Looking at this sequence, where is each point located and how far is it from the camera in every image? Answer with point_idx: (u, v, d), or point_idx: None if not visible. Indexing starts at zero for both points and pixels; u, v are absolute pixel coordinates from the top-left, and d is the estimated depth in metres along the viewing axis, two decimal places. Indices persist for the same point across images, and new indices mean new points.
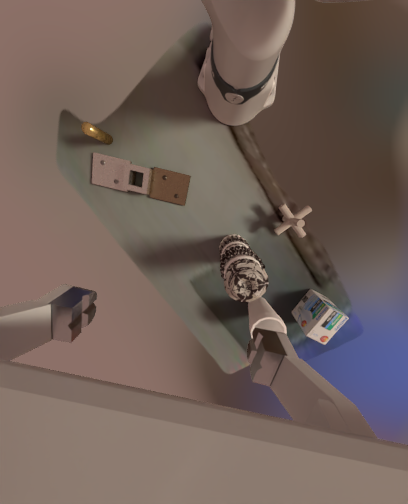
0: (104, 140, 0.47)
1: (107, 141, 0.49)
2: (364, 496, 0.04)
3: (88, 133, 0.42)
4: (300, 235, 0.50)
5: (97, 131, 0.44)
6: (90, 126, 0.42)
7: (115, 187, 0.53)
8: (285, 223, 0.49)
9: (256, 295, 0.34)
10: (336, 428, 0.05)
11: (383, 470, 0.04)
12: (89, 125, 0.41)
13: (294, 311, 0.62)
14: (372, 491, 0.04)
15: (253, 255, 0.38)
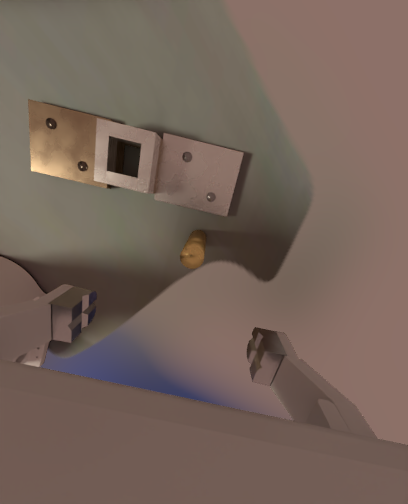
0: (191, 235, 0.24)
1: (191, 234, 0.26)
2: (364, 496, 0.04)
3: (190, 248, 0.19)
4: None
5: None
6: (183, 260, 0.19)
7: (190, 143, 0.23)
8: None
9: None
10: (336, 428, 0.05)
11: (383, 470, 0.04)
12: (185, 262, 0.19)
13: None
14: (372, 491, 0.04)
15: None
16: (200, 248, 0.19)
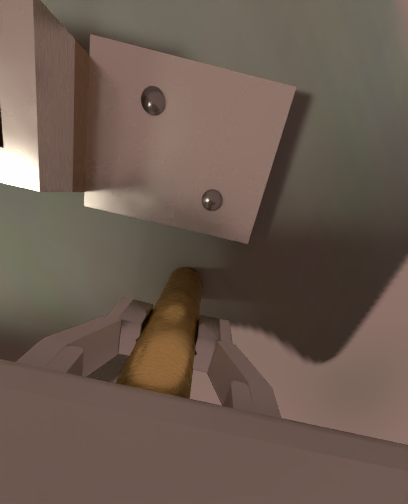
0: (165, 292, 0.10)
1: (168, 283, 0.11)
2: (364, 496, 0.04)
3: None
4: None
5: None
6: None
7: (159, 63, 0.09)
8: None
9: None
10: (239, 407, 0.05)
11: (383, 470, 0.04)
12: None
13: None
14: (372, 491, 0.04)
15: None
16: None
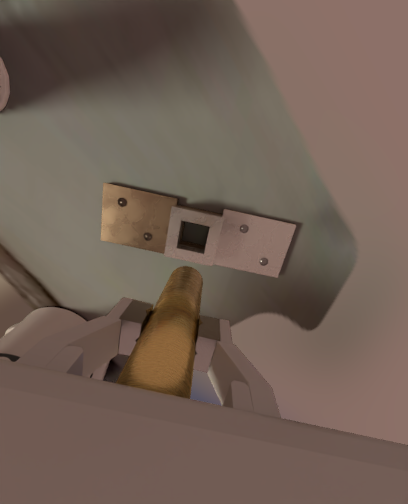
0: (166, 291, 0.10)
1: (169, 282, 0.12)
2: (364, 496, 0.04)
3: None
4: None
5: None
6: None
7: (247, 217, 0.26)
8: None
9: None
10: (239, 407, 0.05)
11: (383, 470, 0.04)
12: None
13: None
14: (372, 491, 0.04)
15: None
16: (174, 393, 0.05)
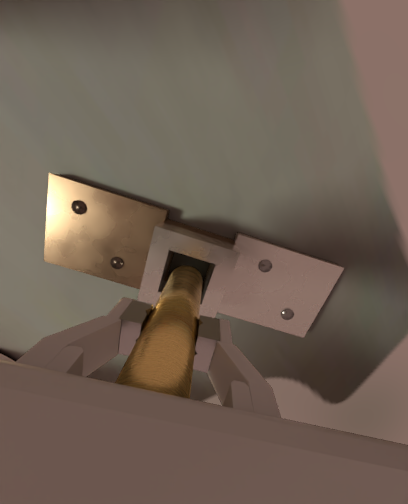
0: (166, 289, 0.10)
1: (169, 280, 0.12)
2: (364, 496, 0.04)
3: None
4: None
5: None
6: None
7: (272, 250, 0.17)
8: None
9: None
10: (239, 407, 0.05)
11: (383, 470, 0.04)
12: None
13: None
14: (372, 491, 0.04)
15: None
16: (174, 387, 0.05)
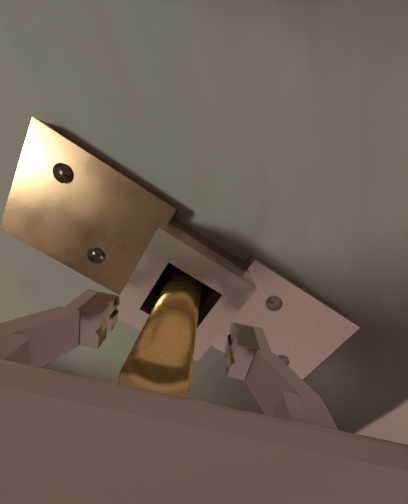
0: (170, 280, 0.12)
1: (173, 273, 0.13)
2: (364, 496, 0.04)
3: (146, 359, 0.06)
4: None
5: None
6: None
7: (288, 288, 0.14)
8: None
9: None
10: (296, 420, 0.05)
11: (383, 470, 0.04)
12: None
13: None
14: (372, 491, 0.04)
15: None
16: (179, 354, 0.07)
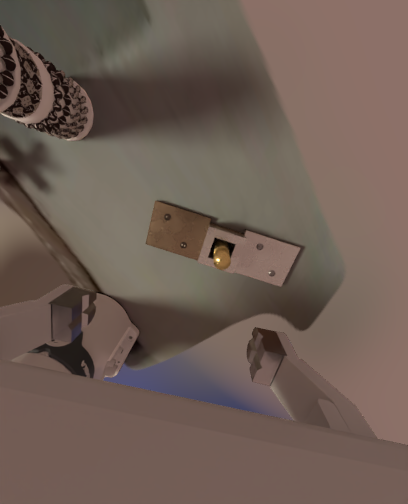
0: (216, 244, 0.32)
1: (215, 243, 0.33)
2: (364, 496, 0.04)
3: (219, 255, 0.26)
4: None
5: None
6: (216, 265, 0.27)
7: (263, 238, 0.33)
8: None
9: None
10: (336, 428, 0.05)
11: (383, 470, 0.04)
12: (218, 266, 0.27)
13: None
14: (372, 491, 0.04)
15: None
16: (226, 253, 0.26)
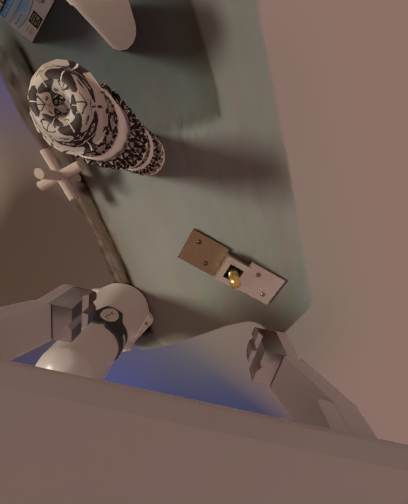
0: (230, 268, 0.45)
1: (229, 267, 0.46)
2: (364, 496, 0.04)
3: (234, 279, 0.39)
4: (46, 152, 0.37)
5: (229, 279, 0.42)
6: (231, 285, 0.40)
7: (262, 269, 0.47)
8: (67, 175, 0.38)
9: (38, 75, 0.17)
10: (336, 428, 0.05)
11: (383, 470, 0.04)
12: (232, 286, 0.40)
13: None
14: (372, 491, 0.04)
15: (75, 154, 0.24)
16: (239, 279, 0.40)
